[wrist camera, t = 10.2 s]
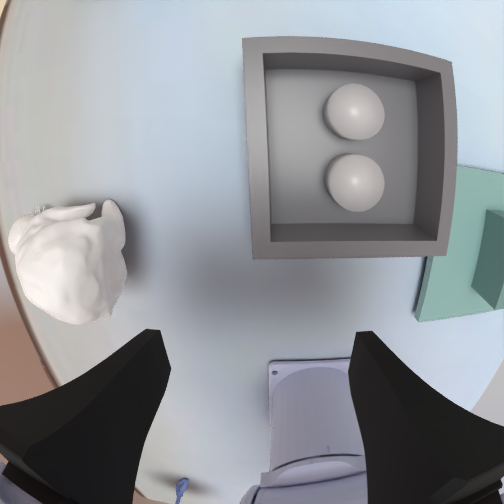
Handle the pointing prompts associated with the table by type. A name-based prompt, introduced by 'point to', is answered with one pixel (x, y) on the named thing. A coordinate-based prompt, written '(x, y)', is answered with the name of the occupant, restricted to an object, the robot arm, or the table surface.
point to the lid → (468, 252)
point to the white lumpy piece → (71, 260)
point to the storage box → (348, 149)
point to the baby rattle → (180, 492)
